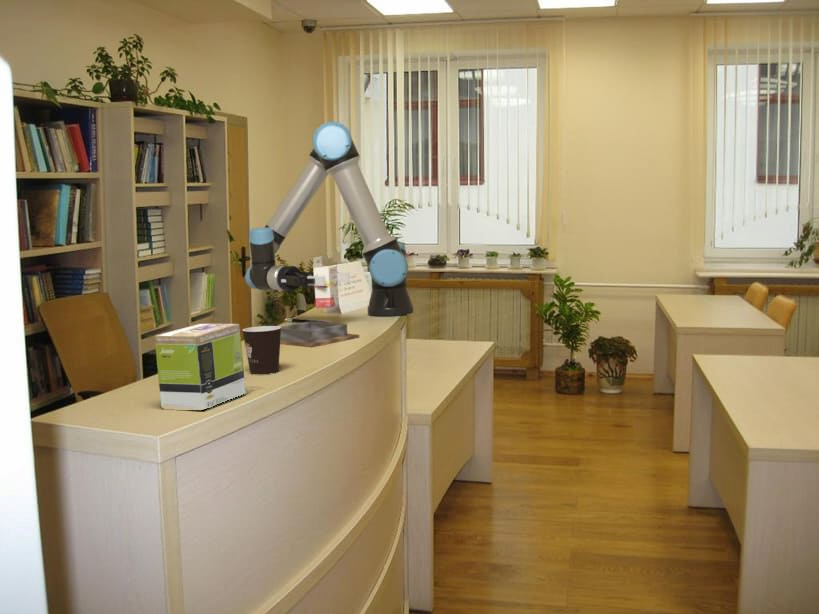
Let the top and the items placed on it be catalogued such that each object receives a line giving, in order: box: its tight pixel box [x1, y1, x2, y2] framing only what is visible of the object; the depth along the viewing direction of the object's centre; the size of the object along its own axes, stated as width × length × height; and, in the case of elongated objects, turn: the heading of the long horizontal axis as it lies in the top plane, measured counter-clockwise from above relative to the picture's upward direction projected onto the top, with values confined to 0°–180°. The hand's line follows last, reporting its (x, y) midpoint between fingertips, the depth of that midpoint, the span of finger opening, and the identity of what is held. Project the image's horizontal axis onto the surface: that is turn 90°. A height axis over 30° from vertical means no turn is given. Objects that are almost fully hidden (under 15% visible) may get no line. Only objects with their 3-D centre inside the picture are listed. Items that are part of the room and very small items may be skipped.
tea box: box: [154, 323, 247, 409], centre depth 181 cm, size 15×10×15 cm, turn 157°
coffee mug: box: [242, 325, 282, 375], centre depth 212 cm, size 12×9×10 cm
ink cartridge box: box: [312, 255, 340, 309], centre depth 274 cm, size 9×5×15 cm, turn 168°
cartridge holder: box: [280, 320, 360, 348], centre depth 257 cm, size 18×20×4 cm
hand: (336, 279), depth 271 cm, fingers closed on ink cartridge box, 9 cm apart
